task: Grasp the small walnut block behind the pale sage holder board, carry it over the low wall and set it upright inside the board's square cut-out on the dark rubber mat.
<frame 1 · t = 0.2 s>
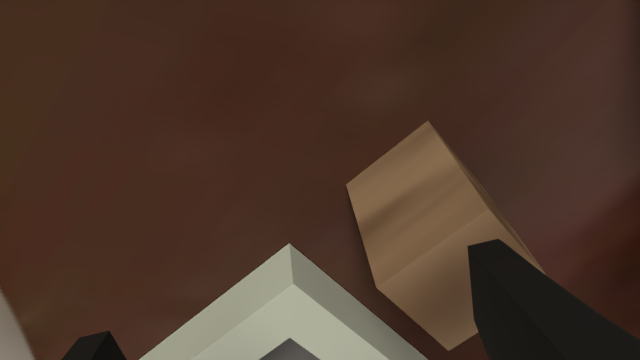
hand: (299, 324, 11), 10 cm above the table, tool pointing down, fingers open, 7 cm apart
walnut block: (415, 185, 21), on the table
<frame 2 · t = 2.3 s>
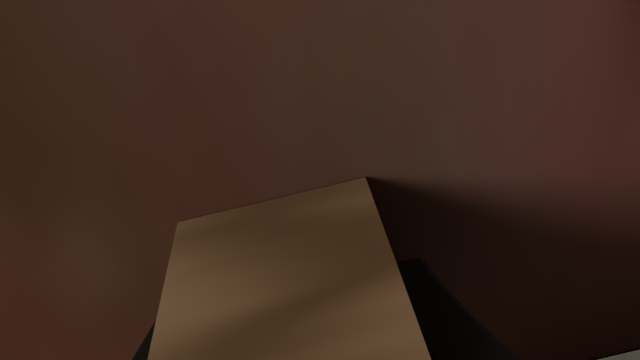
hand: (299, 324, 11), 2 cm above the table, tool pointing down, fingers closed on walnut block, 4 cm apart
walnut block: (293, 271, 12), on the table, touching gripper
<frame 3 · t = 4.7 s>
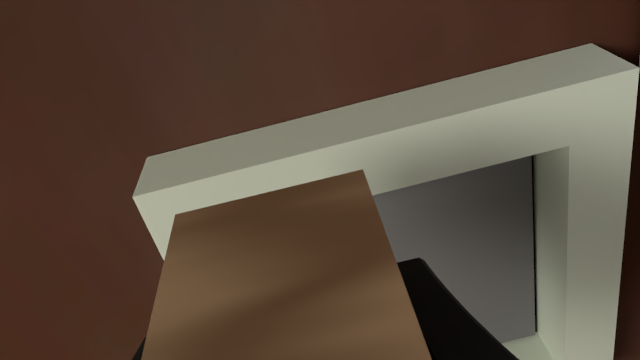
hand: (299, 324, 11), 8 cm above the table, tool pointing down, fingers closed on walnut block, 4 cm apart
holder board: (400, 270, 21), on the table
walnut block: (291, 264, 12), point 7 cm above the table, touching gripper
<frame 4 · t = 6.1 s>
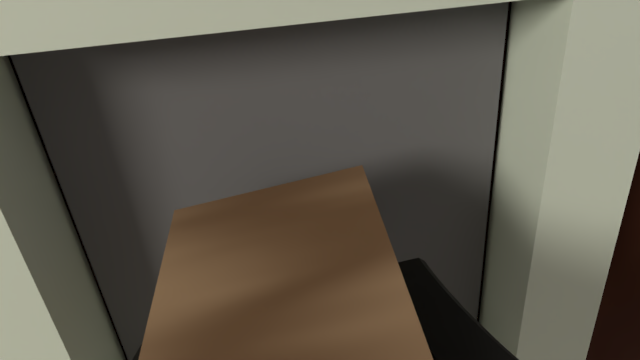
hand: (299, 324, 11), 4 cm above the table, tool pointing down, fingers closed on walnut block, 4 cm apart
holder board: (289, 212, 14), on the table
walnut block: (291, 260, 12), point 2 cm above the table, touching gripper
when the fingers open (3 cm above the table, at t = 7.1 s): walnut block stays where it is, resting on holder board.
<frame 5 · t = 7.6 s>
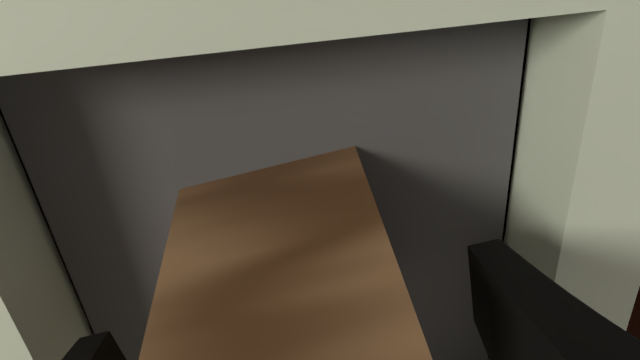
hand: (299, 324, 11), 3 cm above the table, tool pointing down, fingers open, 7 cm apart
holder board: (290, 237, 13), on the table
walnut block: (288, 237, 13), resting on holder board
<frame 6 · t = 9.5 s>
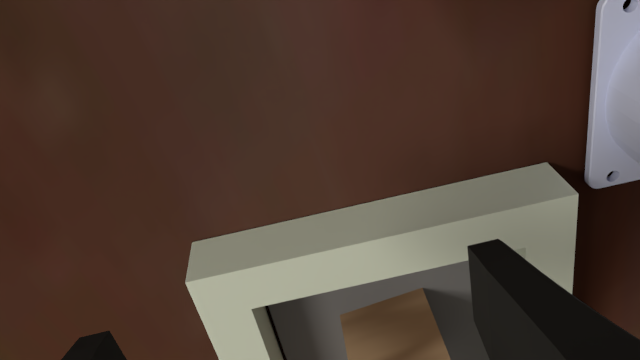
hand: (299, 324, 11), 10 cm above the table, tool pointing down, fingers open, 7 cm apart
holder board: (391, 328, 26), on the table
walnut block: (391, 330, 25), resting on holder board
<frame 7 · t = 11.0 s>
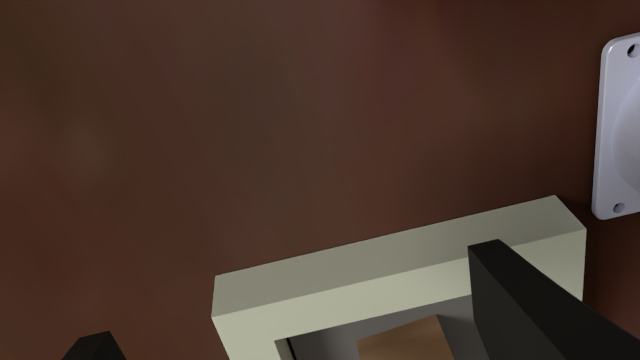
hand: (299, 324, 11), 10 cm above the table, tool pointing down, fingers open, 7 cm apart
holder board: (406, 352, 27), on the table
walnut block: (406, 353, 26), resting on holder board
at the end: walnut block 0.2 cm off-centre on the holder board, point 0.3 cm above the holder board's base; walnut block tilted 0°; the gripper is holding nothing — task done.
